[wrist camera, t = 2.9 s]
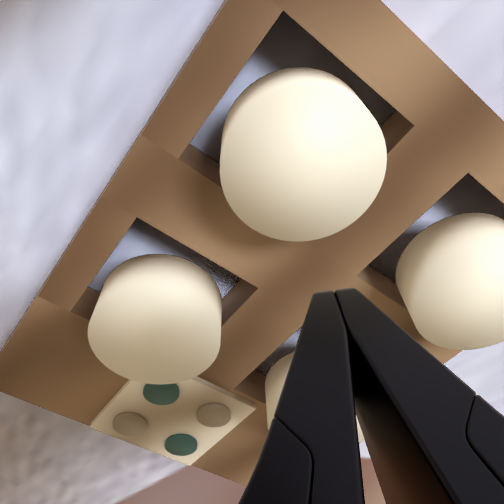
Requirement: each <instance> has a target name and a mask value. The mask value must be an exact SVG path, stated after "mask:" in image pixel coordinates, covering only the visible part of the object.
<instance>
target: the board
mask: <svg viewBox="0 0 504 504" xmlns="http://www.w3.org/2000/svg"><path fill="white" fill-rule="evenodd" d="M282 11H284V12H286V13H287V14H288V15H289V16H290V17H291V18H292V19H294V20H295V21H296V22H297V23H298V24H299V25H300V26H301V27H303V28H304V29H305V30H306V31H307V32H308V33H309V34H311V35H312V36H313V37H314V38H315V39H316V40H317V41H319V42H320V43H321V44H322V45H323V46H324V47H325V48H327V49H328V50H329V51H330V52H331V53H332V54H333V55H335V56H336V57H337V58H338V59H339V60H340V61H341V62H343V63H344V64H345V65H346V66H347V67H348V68H349V69H351V70H352V71H353V72H354V73H355V74H356V75H357V76H358V77H360V78H361V79H362V80H363V81H364V82H365V83H366V84H368V85H369V86H370V87H371V88H372V89H373V90H374V91H376V92H377V93H378V94H379V95H380V96H381V97H382V98H384V99H385V100H386V101H387V102H388V103H389V104H390V105H392V106H393V107H394V108H395V109H396V111H395V113H394V114H393V115H392V116H391V117H390V118H389V119H388V120H387V121H386V122H385V123H384V124H383V126H382V127H381V131H382V134H383V136H384V139H385V144H386V150H387V164H386V172H385V176H384V180H383V183H382V185H381V188H380V190H379V192H378V194H377V196H376V198H375V199H374V201H373V202H372V204H371V205H370V207H369V208H368V209H367V210H366V211H365V212H364V213H363V214H362V215H361V216H360V217H359V218H358V219H357V220H356V221H355V222H353V223H352V224H350V225H349V226H348V227H346V228H344V229H342V230H341V231H339V232H337V233H335V234H332V235H330V236H327V237H324V238H320V239H316V240H311V241H301V242H294V241H284V240H278V239H274V238H271V237H268V236H265V235H263V234H261V233H259V232H257V231H255V230H253V229H252V228H250V227H249V226H248V225H246V224H245V223H244V222H243V221H242V220H241V219H240V218H239V217H238V216H237V215H236V214H235V212H234V211H233V210H232V208H231V207H230V205H229V203H228V202H227V200H226V197H225V195H224V193H223V189H222V185H221V180H220V164H219V163H217V162H216V161H214V160H213V159H212V158H210V157H209V156H207V155H206V154H204V153H203V152H201V151H200V150H198V149H197V148H195V147H194V146H192V145H191V144H189V143H190V141H191V140H192V139H193V137H194V136H195V134H196V133H197V131H198V130H199V129H200V127H201V126H202V124H203V123H204V122H205V120H206V119H207V117H208V116H209V115H210V113H211V112H212V110H213V109H214V107H215V106H216V105H217V103H218V102H219V100H220V99H221V98H222V96H223V95H224V93H225V92H226V90H227V89H228V88H229V86H230V85H231V83H232V82H233V81H234V79H235V78H236V76H237V75H238V73H239V72H240V71H241V69H242V68H243V66H244V65H245V64H246V62H247V61H248V59H249V58H250V57H251V55H252V54H253V52H254V51H255V49H256V48H257V47H258V45H259V44H260V42H261V41H262V40H263V38H264V37H265V35H266V34H267V32H268V31H269V30H270V28H271V27H272V25H273V24H274V23H275V21H276V20H277V18H278V17H279V15H280V14H281V13H282ZM467 173H469V174H470V175H471V176H473V177H474V178H475V179H476V180H477V181H478V182H479V183H481V184H482V185H483V186H484V187H485V188H486V189H487V190H488V191H490V192H491V193H492V194H493V195H494V196H495V197H496V198H498V199H499V200H500V201H501V202H502V203H503V204H504V121H503V120H502V119H501V118H500V117H499V116H498V115H497V114H496V113H495V112H494V111H493V110H492V109H491V108H490V107H489V106H488V105H487V104H486V103H485V102H484V101H482V100H481V99H480V98H479V97H478V96H477V95H476V94H475V93H474V92H473V91H472V90H471V89H470V88H469V87H468V86H467V85H466V84H465V83H464V82H463V81H462V80H461V79H460V78H459V77H458V76H457V75H456V74H455V73H454V72H453V71H452V70H451V69H450V68H449V67H448V66H447V65H446V64H445V63H444V62H443V61H442V60H441V59H440V58H439V57H438V56H437V55H436V54H435V53H434V52H433V51H432V50H431V49H430V48H429V47H428V46H427V45H426V44H425V43H424V42H422V41H421V40H420V39H419V38H418V37H417V36H416V35H415V34H414V33H413V32H412V31H411V30H410V29H409V28H408V27H407V26H406V25H405V24H404V23H403V22H402V21H401V20H400V19H399V18H398V17H397V16H396V15H395V14H394V13H393V12H392V11H391V10H390V9H389V8H388V7H387V6H386V5H385V4H384V3H383V2H382V1H381V0H225V1H224V3H223V4H222V6H221V7H220V9H219V11H218V12H217V14H216V15H215V17H214V18H213V20H212V21H211V23H210V25H209V26H208V28H207V29H206V31H205V32H204V34H203V36H202V37H201V39H200V40H199V42H198V43H197V45H196V47H195V48H194V50H193V51H192V53H191V54H190V56H189V57H188V59H187V61H186V62H185V64H184V65H183V67H182V68H181V70H180V72H179V73H178V75H177V76H176V78H175V79H174V81H173V82H172V84H171V86H170V87H169V89H168V90H167V92H166V93H165V95H164V97H163V98H162V100H161V101H160V103H159V104H158V106H157V108H156V109H155V111H154V112H153V114H152V115H151V117H150V118H149V120H148V122H147V123H146V125H145V126H144V128H143V129H142V131H141V133H140V134H139V136H138V137H137V139H136V140H135V142H134V143H133V145H132V147H131V148H130V150H129V151H128V153H127V154H126V156H125V158H124V159H123V161H122V162H121V164H120V165H119V167H118V168H117V170H116V172H115V173H114V175H113V176H112V178H111V179H110V181H109V183H108V184H107V186H106V187H105V189H104V190H103V192H102V194H101V195H100V197H99V198H98V200H97V201H96V203H95V204H94V206H93V208H92V209H91V211H90V212H89V214H88V215H87V217H86V219H85V220H84V222H83V223H82V225H81V226H80V228H79V229H78V231H77V233H76V234H75V236H74V237H73V239H72V240H71V242H70V244H69V245H68V247H67V248H66V250H65V251H64V253H63V255H62V256H61V258H60V259H59V261H58V262H57V264H56V265H55V267H54V269H53V270H52V272H51V273H50V275H49V276H48V278H47V280H46V281H45V283H44V284H43V286H42V287H41V289H40V290H39V292H38V294H37V295H36V297H35V298H34V300H33V301H32V303H31V305H30V306H29V308H28V309H27V311H26V312H25V314H24V315H23V317H22V319H21V320H20V322H19V323H18V325H17V326H16V328H15V330H14V331H13V333H12V334H11V336H10V337H9V339H8V341H7V342H6V344H5V345H4V347H3V348H2V350H1V351H0V392H3V393H6V394H8V395H11V396H13V397H16V398H19V399H21V400H24V401H26V402H29V403H32V404H34V405H37V406H39V407H42V408H45V409H47V410H50V411H52V412H55V413H58V414H60V415H63V416H65V417H68V418H71V419H73V420H76V421H78V422H81V423H84V424H86V425H89V426H90V428H92V429H95V430H98V431H100V432H103V433H105V434H108V435H111V436H113V437H116V438H118V439H121V440H124V441H126V442H129V443H131V444H134V445H137V446H139V447H142V448H144V449H147V450H150V451H152V452H155V453H158V454H160V455H163V456H165V457H168V458H171V459H173V460H176V461H178V462H181V463H184V464H186V465H189V466H190V465H193V466H196V467H198V468H201V469H203V470H206V471H208V472H211V473H214V474H217V475H219V476H221V477H224V478H226V479H229V480H232V481H235V482H237V483H239V484H242V485H245V486H247V484H248V482H249V480H250V478H251V475H252V473H253V471H254V469H255V466H256V464H257V462H258V459H259V456H260V454H261V451H262V448H263V445H264V443H265V440H266V437H267V434H268V431H269V430H268V425H267V409H266V394H265V379H266V376H265V375H263V374H261V373H259V372H257V371H255V369H256V368H257V367H258V366H259V365H260V364H261V363H262V362H263V361H264V360H265V359H266V358H268V357H269V356H270V355H271V354H272V353H273V352H274V351H275V350H276V349H277V348H278V347H280V346H281V345H282V344H283V343H284V342H285V341H286V340H287V339H288V338H289V337H290V336H291V335H293V334H294V333H295V332H296V331H297V330H298V329H299V328H300V327H301V326H302V325H303V323H304V320H305V317H306V314H307V310H308V307H309V304H310V301H311V298H312V295H313V294H314V293H315V292H320V291H328V290H332V291H333V292H335V290H337V289H344V288H351V287H352V288H356V289H357V290H358V291H360V292H361V293H362V294H363V295H364V296H365V297H366V298H368V299H369V300H370V301H371V302H372V303H373V304H374V305H376V306H377V307H378V308H379V309H380V310H381V311H383V312H384V313H385V314H386V315H387V316H388V317H389V318H391V319H392V320H393V321H394V322H395V323H396V324H398V325H399V326H400V327H401V328H402V329H403V330H404V331H406V332H407V333H408V334H409V335H410V336H411V337H412V338H414V339H415V340H416V341H417V342H418V343H419V344H421V345H422V346H423V347H424V348H425V349H426V350H427V351H429V352H430V353H431V354H432V355H433V356H434V357H436V358H437V359H438V360H439V361H440V362H441V363H442V364H444V363H446V362H447V361H448V360H450V359H451V358H452V357H454V356H455V355H457V354H458V353H459V352H461V351H462V350H454V349H447V348H443V347H440V346H437V345H434V344H433V343H431V342H429V341H428V340H426V339H425V338H424V337H423V336H422V335H421V334H420V333H419V332H418V330H417V328H416V326H415V324H414V322H413V320H412V318H411V316H410V314H409V311H408V309H407V307H406V305H405V303H404V301H403V299H402V296H401V294H400V292H399V290H398V287H397V284H396V283H394V282H393V281H391V280H390V279H388V278H387V277H385V276H384V275H382V274H381V273H379V272H378V271H376V270H375V269H373V268H372V267H370V266H369V265H368V264H370V263H371V262H372V261H373V260H374V259H375V258H376V257H377V256H378V255H379V254H380V253H381V252H383V251H384V250H385V249H386V248H387V247H388V246H389V245H390V244H391V243H392V242H393V241H395V240H396V239H397V238H398V237H399V236H400V235H401V234H402V233H403V232H404V231H405V230H406V229H408V228H409V227H410V226H411V225H412V224H413V223H414V222H415V221H416V220H417V219H418V218H419V217H421V216H422V215H423V214H424V213H425V212H426V211H427V210H428V209H429V208H430V207H431V206H432V205H434V204H435V203H436V202H437V201H438V200H439V199H440V198H441V197H442V196H443V195H444V194H446V193H447V192H448V191H449V190H450V189H451V188H452V187H453V186H454V185H455V184H456V183H457V182H459V181H460V180H461V179H462V178H463V177H464V176H465V175H466V174H467ZM136 218H139V219H141V220H143V221H144V222H146V223H148V224H149V225H151V226H153V227H155V228H156V229H158V230H160V231H161V232H163V233H165V234H167V235H168V236H170V237H172V238H173V239H175V240H177V241H179V242H180V243H182V244H184V245H185V246H187V247H189V248H191V249H192V250H194V251H196V252H197V253H199V254H201V255H203V256H204V257H206V258H208V259H209V260H211V261H213V262H215V263H216V264H218V265H220V266H221V267H223V268H225V269H227V270H228V271H230V272H232V273H233V274H235V275H237V276H239V277H240V278H241V280H240V281H239V282H238V283H237V284H236V285H235V286H234V287H233V288H232V289H231V290H230V291H229V293H228V294H227V295H226V296H225V297H224V298H223V299H222V318H221V342H220V349H219V353H218V355H217V357H216V359H215V361H214V362H213V363H212V364H211V366H210V367H209V368H208V369H206V370H205V371H204V372H202V373H201V374H199V375H198V376H196V377H194V378H192V379H189V380H186V381H183V382H179V383H173V384H163V385H161V384H146V383H141V382H137V381H133V380H130V379H127V378H125V377H122V376H120V375H118V374H116V373H115V372H113V371H111V370H110V369H109V368H107V367H106V366H105V365H104V364H103V363H102V362H101V361H100V360H99V359H98V358H97V357H96V355H95V354H94V352H93V351H92V349H91V347H90V344H89V340H88V325H89V322H90V319H91V316H92V314H93V311H94V309H95V306H96V304H97V301H98V299H99V296H100V292H98V291H96V290H94V289H92V288H90V287H88V286H89V284H90V283H91V281H92V280H93V279H94V277H95V276H96V274H97V273H98V272H99V270H100V269H101V267H102V266H103V264H104V263H105V262H106V260H107V259H108V257H109V256H110V255H111V253H112V252H113V250H114V249H115V247H116V246H117V245H118V243H119V242H120V240H121V239H122V238H123V236H124V235H125V233H126V232H127V230H128V229H129V228H130V226H131V225H132V223H133V222H134V221H135V219H136Z"/></svg>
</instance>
